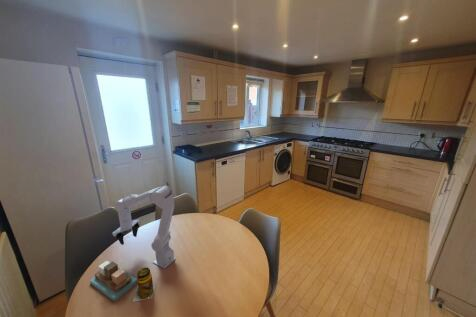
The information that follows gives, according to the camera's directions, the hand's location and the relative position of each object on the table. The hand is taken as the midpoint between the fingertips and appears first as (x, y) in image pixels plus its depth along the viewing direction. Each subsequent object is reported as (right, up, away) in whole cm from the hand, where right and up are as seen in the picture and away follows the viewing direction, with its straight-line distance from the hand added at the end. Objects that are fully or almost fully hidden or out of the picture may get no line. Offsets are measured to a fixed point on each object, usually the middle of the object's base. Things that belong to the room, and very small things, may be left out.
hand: (128, 240), depth 108 cm
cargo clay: (+6, -11, -19) cm, 22 cm away
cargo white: (-3, -10, -14) cm, 17 cm away
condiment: (+19, -16, -20) cm, 32 cm away
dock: (+2, -14, -15) cm, 21 cm away
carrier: (+2, -13, -16) cm, 20 cm away
